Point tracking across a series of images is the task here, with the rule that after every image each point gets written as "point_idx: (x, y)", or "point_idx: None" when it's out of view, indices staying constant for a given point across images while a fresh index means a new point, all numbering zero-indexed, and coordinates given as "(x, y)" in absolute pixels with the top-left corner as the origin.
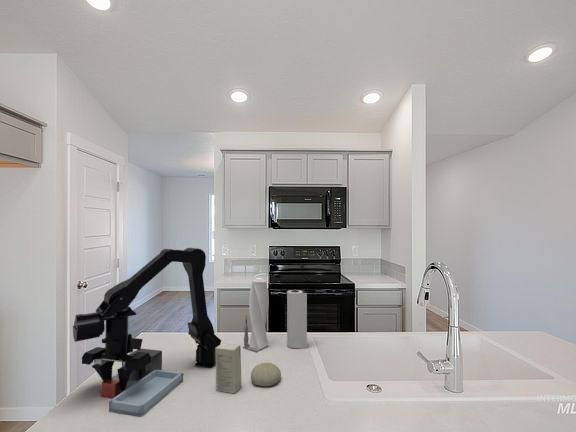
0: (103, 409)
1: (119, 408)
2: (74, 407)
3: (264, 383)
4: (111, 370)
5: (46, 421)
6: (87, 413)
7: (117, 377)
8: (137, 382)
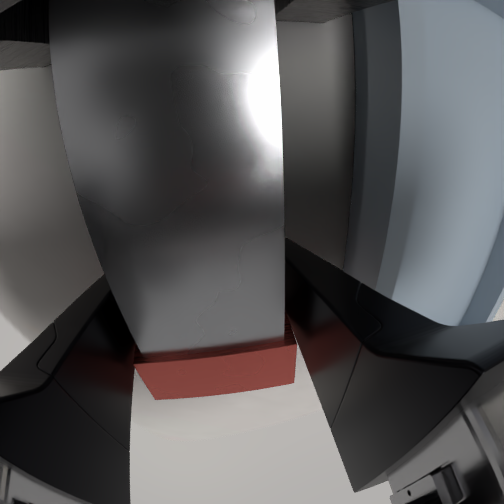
0: None
1: None
2: (146, 391)
3: None
4: (74, 361)
5: (159, 434)
6: (246, 394)
7: (186, 303)
8: (400, 209)
